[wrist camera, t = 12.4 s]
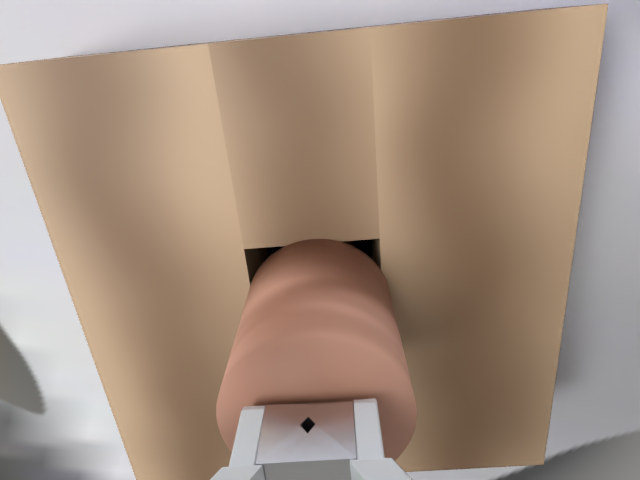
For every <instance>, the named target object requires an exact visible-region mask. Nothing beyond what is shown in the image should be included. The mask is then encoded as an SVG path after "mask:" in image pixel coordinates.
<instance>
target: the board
mask: <svg viewBox="0 0 640 480" xmlns="http://www.w3.org/2000/svg"><path fill="white" fill-rule="evenodd" d="M607 10H608V4H597V5H584V6H572V7H559V8H547V9H536V10H526V11H516V12H506V13H496V14H486V15H476V16H466V17H456V18H446V19H437V20H427V21H417V22H407V23H397V24H387V25H377V26H367V27H357V28H347V29H338V30H328V31H318V32H308V33H298V34H288V35H278V36H268V37H258V38H248V39H238V40H229V41H219V42H209V43H199V44H189V45H179V46H169V47H159V48H149V49H139V50H129V51H120V52H110V53H100V54H90V55H80V56H70V57H61V58H52V59H44V60H36V61H27V62H19V63H10V64H2V65H0V99H1V102H2V104H3V107H4V110H5V113H6V116H7V118H8V121H9V124H10V127H11V130H12V132H13V135H14V138H15V141H16V144H17V147H18V149H19V152H20V155H21V158H22V161H23V163H24V166H25V169H26V172H27V175H28V177H29V180H30V183H31V186H32V189H33V191H34V194H35V197H36V200H37V203H38V205H39V208H40V211H41V214H42V217H43V219H44V222H45V225H46V228H47V231H48V233H49V236H50V239H51V242H52V245H53V247H54V250H55V253H56V256H57V259H58V261H59V264H60V267H61V270H62V273H63V276H64V278H65V281H66V284H67V287H68V290H69V292H70V295H71V298H72V301H73V304H74V306H75V309H76V312H77V315H78V318H79V320H80V323H81V326H82V329H83V332H84V334H85V337H86V340H87V343H88V346H89V348H90V351H91V354H92V357H93V360H94V362H95V365H96V368H97V371H98V374H99V376H100V379H101V382H102V385H103V388H104V390H105V393H106V396H107V399H108V402H109V405H110V407H111V410H112V413H113V416H114V419H115V421H116V424H117V427H118V430H119V433H120V435H121V438H122V441H123V444H124V447H125V449H126V452H127V455H128V458H129V461H130V463H131V466H132V469H133V472H134V475H135V477H136V480H210V479H211V478H212V477H213V476H214V475H215V474H216V473H217V472H218V471H219V470H220V469H221V468H222V467H229V463H230V458H231V454H232V452H231V451H230V449H229V448H228V447H227V445H226V444H225V442H224V440H223V438H222V436H221V434H220V431H219V428H218V424H217V417H216V404H217V399H218V394H219V391H220V388H221V384H222V381H223V377H224V374H225V371H226V367H227V364H228V360H229V357H230V354H231V350H232V347H233V343H234V340H235V337H236V333H237V330H238V326H239V323H240V320H241V316H242V313H243V309H244V306H245V303H246V299H247V296H248V292H249V289H250V286H251V283H252V280H253V277H254V275H255V273H256V272H257V270H258V268H259V267H260V266H261V264H262V263H263V262H264V261H265V260H266V259H267V258H268V251H267V247H279V246H287V245H289V244H292V243H295V242H298V241H302V240H309V239H330V240H335V241H340V242H342V241H355V240H368V239H371V240H372V259H373V261H374V262H375V263H376V264H377V265H378V266H379V268H380V269H381V271H382V272H383V274H384V276H385V278H386V281H387V283H388V287H389V291H390V295H391V299H392V303H393V308H394V312H395V316H396V320H397V325H398V329H399V333H400V337H401V341H402V346H403V350H404V354H405V358H406V363H407V367H408V371H409V375H410V379H411V384H412V388H413V392H414V396H415V401H416V407H417V421H416V426H415V430H414V434H413V436H412V438H411V441H410V443H409V444H408V446H407V447H406V449H405V450H404V452H403V453H402V454H401V455H400V456H399V458H398V459H397V460H395V462H396V463H397V464H398V465H399V466H400V467H401V468H402V469H403V470H404V471H405V472H414V471H433V470H451V469H470V468H488V467H507V466H525V465H543V464H544V458H545V451H546V444H547V437H548V430H549V423H550V416H551V409H552V402H553V394H554V387H555V380H556V373H557V366H558V359H559V352H560V345H561V337H562V330H563V323H564V316H565V309H566V302H567V295H568V288H569V280H570V273H571V266H572V259H573V252H574V245H575V238H576V231H577V223H578V216H579V209H580V202H581V195H582V188H583V181H584V174H585V167H586V159H587V152H588V145H589V138H590V131H591V124H592V117H593V110H594V102H595V95H596V88H597V81H598V74H599V67H600V60H601V53H602V45H603V38H604V31H605V24H606V17H607Z"/></svg>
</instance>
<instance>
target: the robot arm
mask: <svg viewBox="0 0 640 480" xmlns="http://www.w3.org/2000/svg"><path fill="white" fill-rule="evenodd" d="M353 404H354V406H353ZM354 417H355V418H354ZM210 480H412V479H411V478H410V477H409V476H408V475H407V474H406V472H405V471H404V470H403V469H402V468H401V467H400V466H399V465H398V464H397V463H396V462H395V461H394V460H393V459H392V458H385V457H384V449H383V442H382V434H381V427H380V420H379V412H378V405H377V400H376V399H375V398H372V399H359V400H354V403H353V400H348V401H334V402H320V403H307V404H280V405H266V406H244V408H243V409H242V411H241V414H240V418H239V423H238V427H237V432H236V436H235V441H234V445H233V450H232V454H231V458H230V463H229V467H222V468H221V469H220V470H219V471H218V472H217V473H216V474H215V475H214V476H213V477H212V478H211V479H210Z"/></svg>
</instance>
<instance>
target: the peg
mask: <svg viewBox="0 0 640 480" xmlns="http://www.w3.org/2000/svg"><path fill="white" fill-rule="evenodd" d="M372 398H375V399H376V400H377V405H378V412H379V420H380V427H381V434H382V442H383V449H384V457H385V458H392V459H393V460H394V461H395V460H397V459H398V458H399V456H400V455H401V454H402V453H403V452H404V450H405V449H406V447H407V446H408V444H409V443H410V441H411V438H412V436H413V434H414V430H415V426H416V421H417V407H416V401H415V396H414V392H413V388H412V384H411V379H410V375H409V371H408V367H407V363H406V358H405V354H404V350H403V346H402V341H401V337H400V333H399V329H398V325H397V320H396V316H395V312H394V308H393V303H392V299H391V295H390V291H389V287H388V283H387V281H386V278H385V276H384V274H383V272H382V271H381V269H380V268H379V266H378V265H377V264H376V263H375V262H374V261H373V260H372V259H371V258H370V257H369V256H368V255H367V254H365V253H364V252H362V251H361V250H359V249H357V248H355V245H354V243H353V241H342V242H340V241H335V240H330V239H309V240H302V241H298V242H295V243H292V244H289V245H287V246H284V247H283V248H281V249H279V250H277V251H276V252H274V253H273V254H272V255H270V256H269V257H268V258H267V259H266V260H265V261H264V262H263V263H262V264H261V266H260V267H259V268H258V270H257V272H256V273H255V275H254V277H253V280H252V283H251V286H250V289H249V292H248V296H247V299H246V303H245V306H244V309H243V313H242V316H241V320H240V323H239V326H238V330H237V333H236V337H235V340H234V343H233V347H232V350H231V354H230V357H229V360H228V364H227V367H226V371H225V374H224V377H223V381H222V384H221V388H220V391H219V394H218V399H217V404H216V417H217V424H218V428H219V431H220V434H221V436H222V438H223V440H224V442H225V444H226V445H227V447H228V448H229V449H230V451H231V452H232V450H233V445H234V441H235V436H236V432H237V427H238V423H239V418H240V414H241V411H242V409H243V408H244V406H266V405H280V404H307V403H320V402H334V401H348V400H353V403H354V400H359V399H372ZM353 406H354V404H353ZM354 418H355V417H354Z"/></svg>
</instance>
